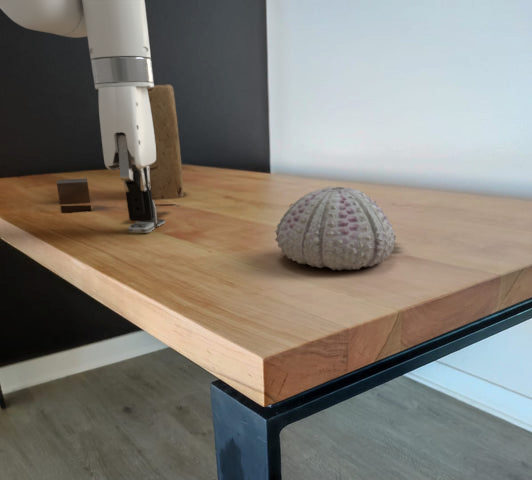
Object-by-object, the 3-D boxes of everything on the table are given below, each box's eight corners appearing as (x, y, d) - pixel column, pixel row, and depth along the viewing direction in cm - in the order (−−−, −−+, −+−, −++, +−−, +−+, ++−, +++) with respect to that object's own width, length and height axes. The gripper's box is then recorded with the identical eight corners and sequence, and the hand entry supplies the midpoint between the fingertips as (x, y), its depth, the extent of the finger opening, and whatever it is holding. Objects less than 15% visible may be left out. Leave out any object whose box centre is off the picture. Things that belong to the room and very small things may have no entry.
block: (185, 206, 98) (176, 82, 90) (143, 208, 97) (129, 83, 88) (180, 197, 108) (171, 85, 99) (142, 199, 106) (129, 85, 98)
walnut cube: (61, 213, 94) (56, 183, 91) (62, 208, 98) (57, 179, 96) (91, 211, 95) (87, 181, 93) (91, 206, 99) (86, 178, 97)
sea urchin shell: (330, 241, 70) (332, 177, 67) (419, 260, 61) (427, 186, 58) (252, 260, 63) (250, 188, 59) (340, 285, 53) (344, 201, 50)
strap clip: (147, 234, 77) (144, 203, 75) (127, 234, 77) (123, 203, 75) (166, 222, 84) (164, 194, 82) (147, 222, 85) (145, 194, 83)
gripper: (112, 80, 77) (130, 211, 85) (73, 74, 64) (99, 231, 71) (164, 77, 77) (178, 210, 84) (136, 71, 63) (155, 229, 71)
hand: (142, 219), depth 78 cm, fingers closed
